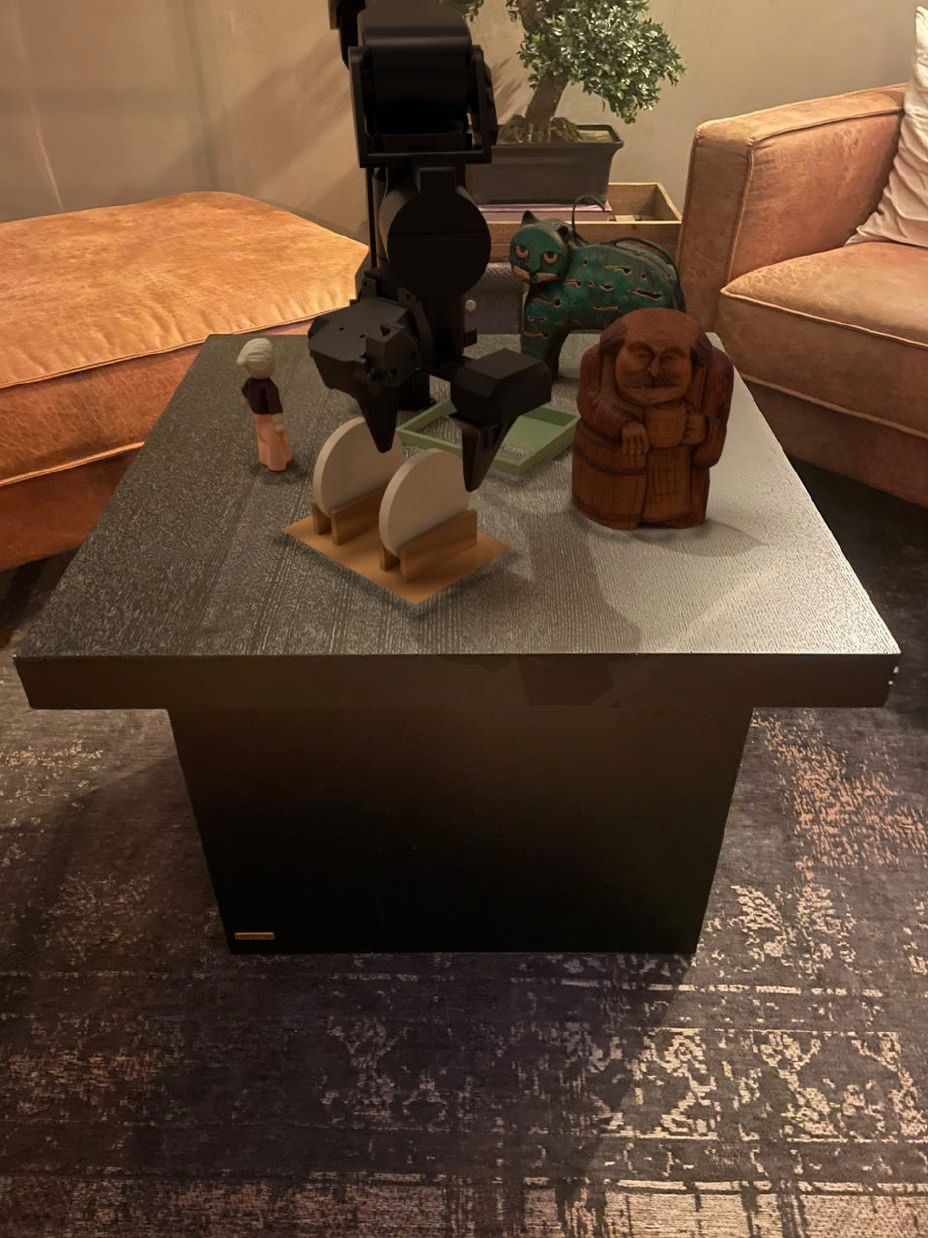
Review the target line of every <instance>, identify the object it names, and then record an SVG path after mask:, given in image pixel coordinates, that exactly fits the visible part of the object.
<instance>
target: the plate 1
mask: <svg viewBox="0 0 928 1238" xmlns="http://www.w3.org/2000/svg"><path fill="white" fill-rule="evenodd" d="M404 463H405V456H404V448H403V443H402V442H401V440H400V438H399V436H398V434H397V433H396V431H395V435H394V440H393V445H392V449H391V450H390V451H388V452H386V453H380V452H379V451H378V450H377V447H376V445H375V443H374V440H373V438H372V435H371V433H370V431H369V428H368V426H367V424H366V421H365V419H364V416H359V417H356V418H353V419H350V420H348V421H347V422H345V423H343V424H342V425H340V426H339V427H338V428H337V429H335V431H333V432H332V434H331V435H330V436H329V437H328V438H327V440H326V442H325V443H324V445H323V446H322V448H321V450H320V451H319V453H318V457H317V459H316V462H315V466H314V470H313V476H312V477H313V478H312V489H313V496H314V499H315V500H316V503H317V505H318V507H319V508H320V510H321V512H322V513H323V514H324V515H325V516H326V517H328V518H329V519H331V517H330V511H331V510H333V509H336V508H338V507H340V506H342V505H344V504H346V503H348V502H350V501H352V500H355V499H357V498H359V497H361V496H363V495H365V494H367V493H369V492H371V491H373V490H376V489H378V488H380V487H382V486H384V485H386V484H388V483H390V481H391V479H392V478H393V476H394V475H395V473H396V472H397V471H398V469H399V468H400V467H401V466H402V465H403V464H404Z"/></svg>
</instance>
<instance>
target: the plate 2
mask: <svg viewBox="0 0 928 1238" xmlns="http://www.w3.org/2000/svg"><path fill="white" fill-rule="evenodd" d="M471 493H472V492H467V491H466V490H465V483H464V477H463V460H461V459H460V458H459V457H458V456H456V455H455V454H453V453H450V452H448V451H446V450H443V449H438V448H431V449H423V450H421V451H418V452H417V453H415V454H414V455H412V456H410V457H409V458H408V459H407V460H406V461H404V464H403V465H402V466H401V467H400V468H399V469H398V471H397V472H396V473H395V475H394V476H393V478H392V479H391V481H390V483H389V485H388V487H387V489H386V491H385V494H384V497H383V500H382V503H381V507H380V514H379V531H380V536H381V539H382V542H383V544H384V546H385V548H386V549H387V551H388V552H389V553H390V554H391V555H393V556H395V557H396V558H398V559H400V547H401V546H403V545H405V544H407V543H409V542H411V541H413V540H414V539H416V538H418V537H420V536H422V535H424V534H426V533H428V532H429V531H431V530H433V529H435V528H437V527H439V526H441V525H442V524H444V523H446V522H448V521H450V520H452V519H454V518H456V517H457V516H459V515H461V514H463V513H465V512H467V511H469V507H470V501H471Z"/></svg>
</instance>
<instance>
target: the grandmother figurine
mask: <svg viewBox="0 0 928 1238" xmlns="http://www.w3.org/2000/svg"><path fill="white" fill-rule="evenodd" d="M273 354H274V348H273V344H272V343H271V342H270V341H269V340H268V339H267V338H264V337H260V338H253V339H251V340H249V341H248V342H247V343H245V344H244V346H243V348H242V349H241V351H240V353H239V355H238V356H237V359H236V361H235V362H236V365H237V366H238V367H240V368H246V371H247V373H248V375H250V377H248V378H247V379H246V380H245V381H244V383H243V385H242V386H241V389H240V391H241V394H242V401H241V403H242V406H243V407H245V408H246V409H247V408H248V409H249V408H250V410H251V412H252V415H253V419H254V423H255V430H256V435H257V446H258V458H259V462H260V464H262V465H264V466H267V468H268V469H269V471H273V472H281V471H284V470H286V468H287V463H289V462H290V461H291V460H292V459H293V457H292V452H291V448H290V444H289V441H288V437H287V434H286V433H287V427H286V425H285V417H284V409H283V405H282V403H281V399H280V389H279V387H278V385H276V383H275V382H274V381H273V380H272V378H271V377H272V376H273V375H274V373H275V371H276V366H277V365H276V360H275V357H274V356H273Z"/></svg>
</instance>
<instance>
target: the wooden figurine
mask: <svg viewBox="0 0 928 1238" xmlns="http://www.w3.org/2000/svg"><path fill="white" fill-rule="evenodd" d="M579 368H580V369H579V378H578V379H579V380H578V381H579V382H578V391H577V394H576V400H575V401H576V408H577V411H578V413H579V414H580V415H581V417H580V419H578V421H577V424H576V429H575V435H574V443H572V444H573V446H572V454H571V455H572V457H571V501H572V505H573V507H574V508H575V509H576V510H577V511H578V512H579V513H580V514H582V515H583V516H584V517H585V518H587V519H588V520H589V521H592V522H594V523H596V524H598V525H600V526H603V527H606V528H609V529H610V528H611V529H613V530H619V531H633V530H635V529H636V528H647V529H648V528H649V529H660V528H669V527H670V528H675V529H681V530H682V529H683V530H685V529H692V528H696V527H698V526H700V525H702V524H703V523H704V522H705V519H706V515H707V509H708V508H707V507H708V502H709V493H710V485H711V471H710V469H711V468H713V467H715V466H716V465H718V463H719V462H720V460H721V457H722V455H723V452H724V448H725V443H726V438H727V433H728V422H729V418H730V413H731V406H732V399H733V394H734V387H735V386H734V384H735V367H734V363H733V361H732V359H731V358H730V356H729V355H728V353H726V352H725V351H723V350H722V349H720V348H718V347H717V346H716V345H713V344H712V342H711V340H710V339H709V337H708V335H707V333H706V332H705V330H704V329H703V327H702V326H701V325H700V324H699V323H698V322H697V320H695V319H694V318H693V317H691V316H690V315H688V314H687V315H686V314H684V313H682V312H680V311H677V310H673V309H667V308H644V309H639V310H635V311H633V312H630V313H628V314H626V315H624V316H623V317H621V318H619V319H617V320H616V321H614V322H613V323H612V324H611V325H610V326H609V327H608V328H606V329H605V330H604V331H603V330H602V332H601V334H600V335H599V343H596V344H594V345H592V346H591V347H590V348H588V349H587V350H586V351H584V353H583V355H582V356H581V360H580V367H579Z"/></svg>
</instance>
